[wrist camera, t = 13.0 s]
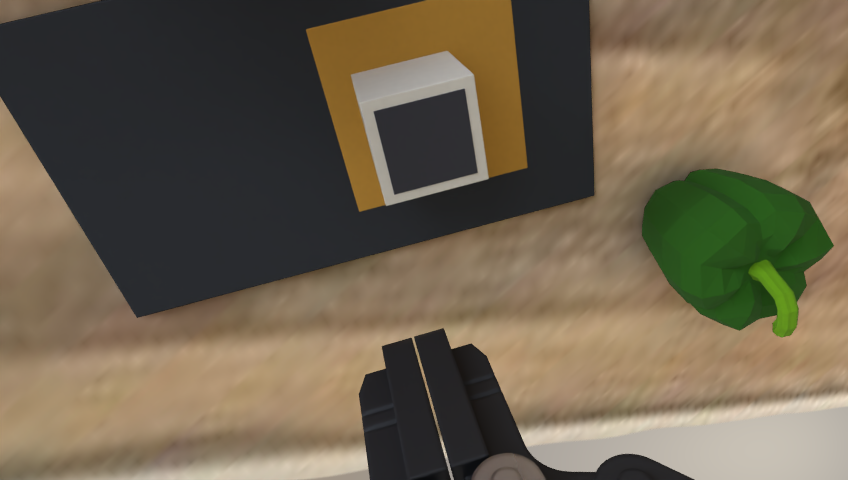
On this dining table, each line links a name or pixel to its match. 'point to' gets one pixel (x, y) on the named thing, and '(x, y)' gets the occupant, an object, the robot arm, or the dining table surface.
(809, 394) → the dining table surface
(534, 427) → the dining table surface
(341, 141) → the mat
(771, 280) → the bell pepper
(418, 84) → the matte off-white cube
